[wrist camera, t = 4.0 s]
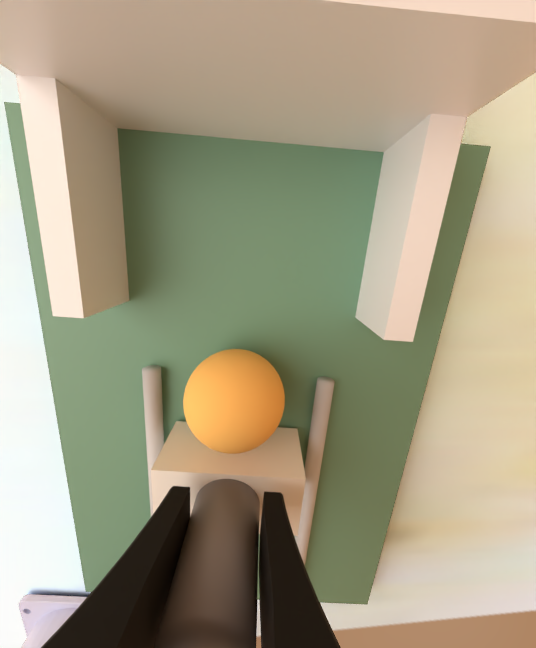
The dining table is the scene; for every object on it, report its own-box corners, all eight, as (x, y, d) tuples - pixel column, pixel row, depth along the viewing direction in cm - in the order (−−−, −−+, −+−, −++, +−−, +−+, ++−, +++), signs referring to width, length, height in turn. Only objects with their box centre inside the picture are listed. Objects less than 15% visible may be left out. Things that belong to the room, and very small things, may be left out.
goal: (377, 319, 12) (482, 386, 6) (106, 299, 12) (-54, 350, 6) (415, 123, 10) (629, -54, 4) (86, 92, 9) (-193, -147, 4)
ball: (282, 482, 10) (294, 388, 8) (171, 476, 9) (163, 380, 8) (278, 409, 13) (286, 337, 12) (198, 404, 13) (197, 330, 12)
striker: (291, 476, 14) (314, 687, 7) (177, 470, 14) (93, 679, 7) (297, 428, 13) (328, 615, 6) (176, 421, 13) (80, 604, 6)
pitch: (361, 585, 18) (371, 621, 16) (95, 572, 18) (77, 608, 16) (471, 155, 11) (509, 137, 9) (28, 115, 11) (-19, 89, 9)
